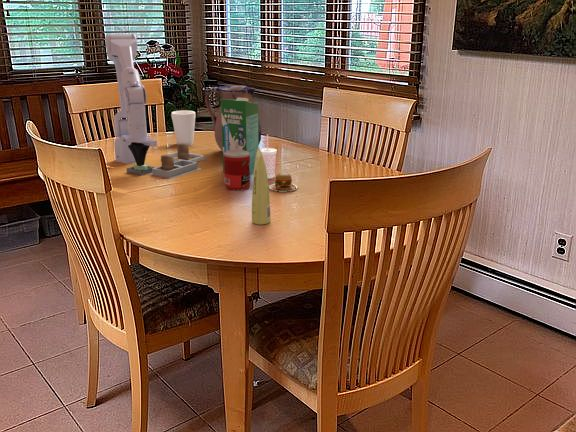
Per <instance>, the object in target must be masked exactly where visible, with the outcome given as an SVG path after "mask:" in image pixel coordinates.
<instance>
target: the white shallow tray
mask: <svg viewBox="0 0 576 432" xmlns="http://www.w3.org/2000/svg"><path fill="white" fill-rule="evenodd" d="M170 154H171V155H173V156H174V162H176V161H179V160H182V159H178V154H177V151H176V152H172V153H171V152H170ZM176 157H177V158H176ZM206 158H207V157H206V155H204V154H198V153H193V152H192V153H191V152H189V160H187V161H192V162H197V163H199V162H201V161H206V160H207V159H206Z"/></svg>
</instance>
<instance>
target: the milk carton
mask: <svg viewBox="0 0 576 432" xmlns="http://www.w3.org/2000/svg"><path fill="white" fill-rule="evenodd" d="M220 106H221V117H222V148H223V151H222V170H223V171H224V152H226V151H229V150H244V151H248V152H249V153H250V175H251V174H254V167H255V159H256V153H257V150H258V146H259V145H260V144H259V130H258V118H259V103H255V102H254V103H252V102H248V99H247V98H237V100H230V99H222V98H221V99H220ZM259 147H260V146H259Z"/></svg>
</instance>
